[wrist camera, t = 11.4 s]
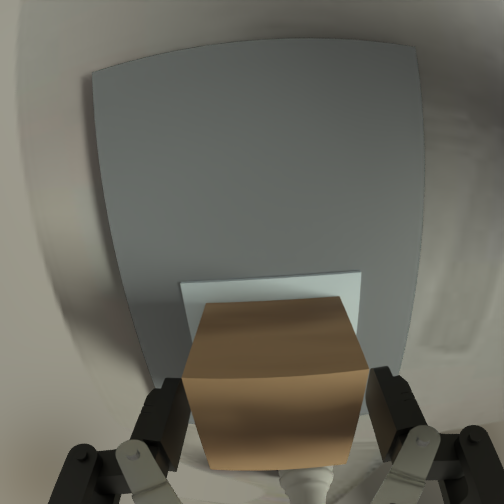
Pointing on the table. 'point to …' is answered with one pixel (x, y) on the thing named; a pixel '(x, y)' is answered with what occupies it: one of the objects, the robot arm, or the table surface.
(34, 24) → the table surface
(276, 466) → the walnut block
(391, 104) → the board
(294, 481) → the rook chess piece
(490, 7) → the table surface
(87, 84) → the table surface
